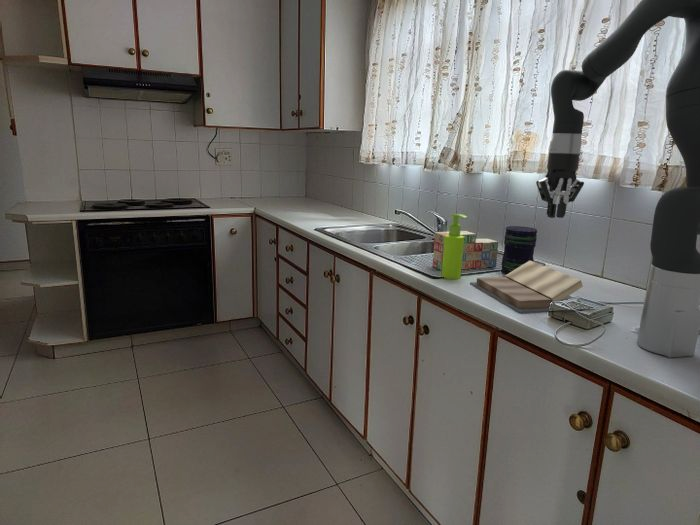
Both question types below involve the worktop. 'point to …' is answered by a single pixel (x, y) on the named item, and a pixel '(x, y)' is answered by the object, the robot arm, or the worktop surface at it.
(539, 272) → the oak plank
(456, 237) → the soap dispenser
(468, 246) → the stack of blocks
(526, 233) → the storage jar
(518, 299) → the walnut plank
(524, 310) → the underlay mat
